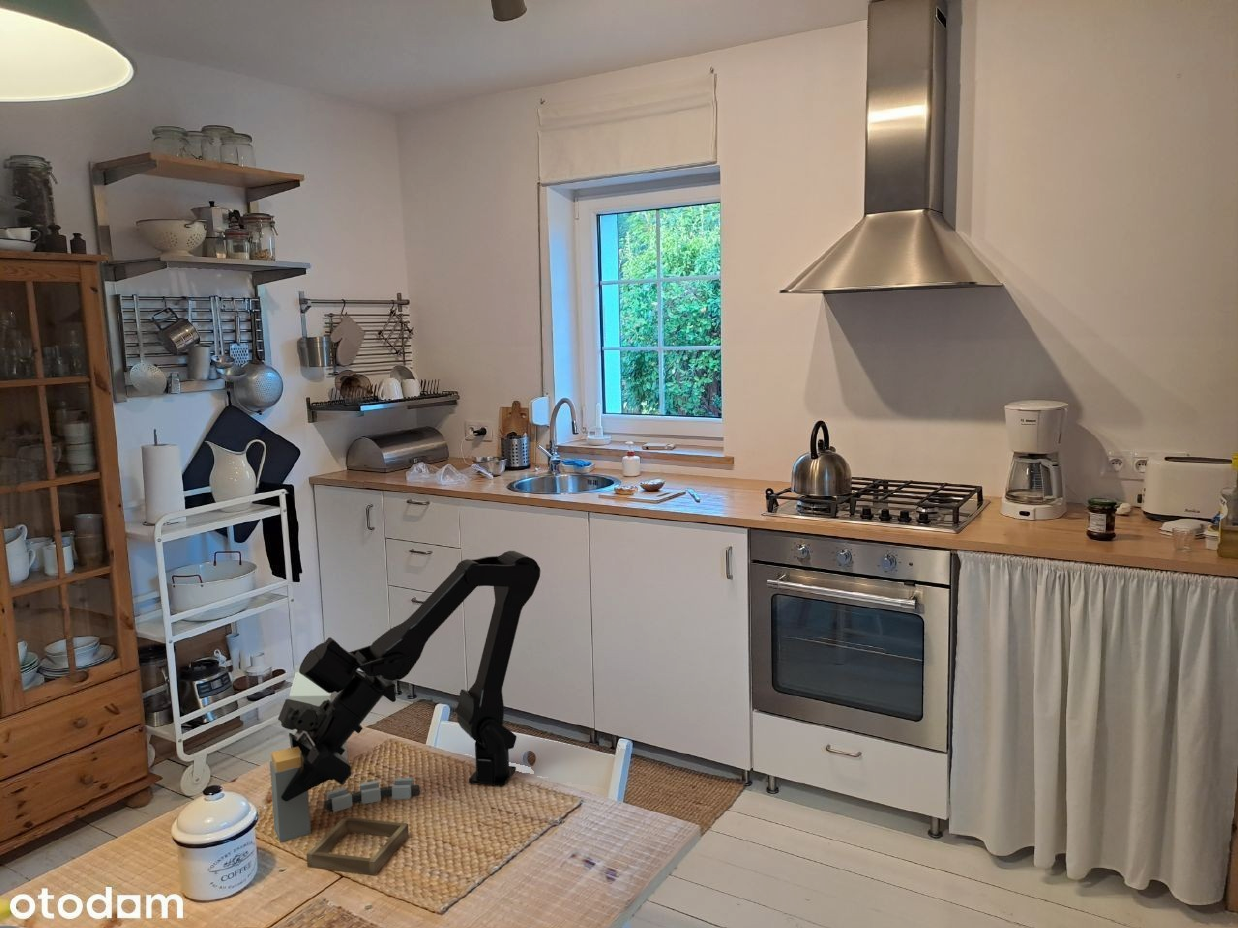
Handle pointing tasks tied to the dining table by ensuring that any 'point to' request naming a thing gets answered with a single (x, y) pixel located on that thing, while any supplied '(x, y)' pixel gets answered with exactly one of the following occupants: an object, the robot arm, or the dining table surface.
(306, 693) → the milk carton
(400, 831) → the brown flat square frame
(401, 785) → the grey jointed bar
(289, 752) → the grey box with lid
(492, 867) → the dining table surface
